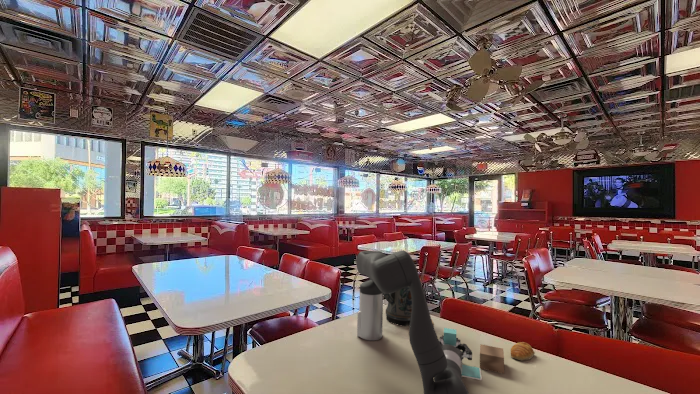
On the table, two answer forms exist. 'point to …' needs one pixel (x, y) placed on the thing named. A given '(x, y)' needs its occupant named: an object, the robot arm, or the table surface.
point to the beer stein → (399, 307)
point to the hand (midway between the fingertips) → (450, 339)
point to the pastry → (522, 351)
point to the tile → (471, 372)
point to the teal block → (450, 336)
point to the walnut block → (492, 358)
